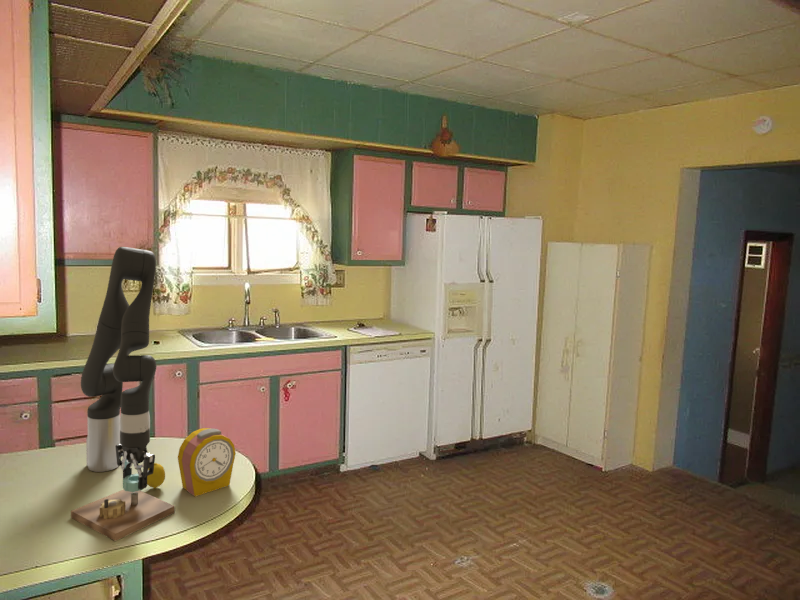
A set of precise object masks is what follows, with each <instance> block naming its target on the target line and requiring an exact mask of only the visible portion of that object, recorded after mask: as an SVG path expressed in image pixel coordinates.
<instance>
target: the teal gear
mask: <svg viewBox="0 0 800 600" xmlns="http://www.w3.org/2000/svg"><path fill="white" fill-rule="evenodd" d="M138 477H139V475H138V473H132V475H128V476H127V477H125V478H123V477H122V490H124V491H128V492H135V491H139V490H140V489H138ZM142 490H144V489H142ZM142 490H140V491H142Z"/></svg>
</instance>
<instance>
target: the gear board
mask: <svg viewBox="0 0 800 600" xmlns="http://www.w3.org/2000/svg"><path fill="white" fill-rule="evenodd" d="M175 511H176V510H175V505H173V504H172V503H169V502H166V501H164V500H162V499H160V498H158V497H155V496H153V495H151V494H149V493H147V492H144V491H142V490H141V491H140V490H139V491H135V492H128V491H124V489H121V490H119V491H116V492H114V493H112V494H109V495H107V496H104V497H101V498H99V499H96V500H94V501H92V502H90V503H87V504H85V505H82V506H80V507H77V508H75V509H72V510H71V511H70V518H71V519H72V520H74V521H76V522H79V523H80V524H81V525H84V526H86V527H88V528H89V529H91V530H94V531H95V532H97V533H99V534H101V535H102V536H105V537H106V536H107V537H106V538H108V539H110V540H112V541H114V542H116V541H119V540H120V539H123V538H124V537H125V538H126V537H127V536H129V535H131V534H133V533H135V532H137V531H139V530H141V529H143V528H145V527H148V526H149V525H151V524H152V525H153V524H155V523H156V522H158V521H160V520H162V519H165V518H166V517H168V516H171V515H172V514H175Z"/></svg>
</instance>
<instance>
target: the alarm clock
mask: <svg viewBox="0 0 800 600" xmlns="http://www.w3.org/2000/svg"><path fill="white" fill-rule="evenodd" d="M235 457H236V448H235V444H234V442H233V441H232V440H231V438H229V437H227V436H225V435H224V434H223V433H222V430H220V429H218V428H210V427H208V428H207V427H202V428H199V429H196V430H194V431H192V432H191V433H190V434H189V435H187V436H186V438H185V437H184V440H183V441H182V443H181V445H180V447H179V449H178V454H177V462H178V467H179V474H180V480H181V485H182V488H183V489H184V490H186V491H187V492H188V493H190V495H192V496H193V497H198V496H200V495H203V494H204V495H205V494H207V492H208V493H210V492H213V490H214V491H216V489H217V490H220V489H223V488H226V487H229V486H230V483H231V478H232V473H233V468H234V467H233V466H234V463H235V459H236V458H235ZM228 485H229V486H228ZM225 486H226V487H225ZM222 487H223V488H222ZM219 488H220V489H219Z"/></svg>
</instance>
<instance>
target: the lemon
mask: <svg viewBox="0 0 800 600" xmlns="http://www.w3.org/2000/svg"><path fill="white" fill-rule="evenodd" d="M148 470H149V469H148ZM165 479H166V470H165V468H164V467H163V465H162V464H160V463H157V462H154V471H153V474H151V475H148V476H147V486H149V487H150V488H153V489H157V488H158V487H161V486H162V485H163V483H164V482H165Z"/></svg>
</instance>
